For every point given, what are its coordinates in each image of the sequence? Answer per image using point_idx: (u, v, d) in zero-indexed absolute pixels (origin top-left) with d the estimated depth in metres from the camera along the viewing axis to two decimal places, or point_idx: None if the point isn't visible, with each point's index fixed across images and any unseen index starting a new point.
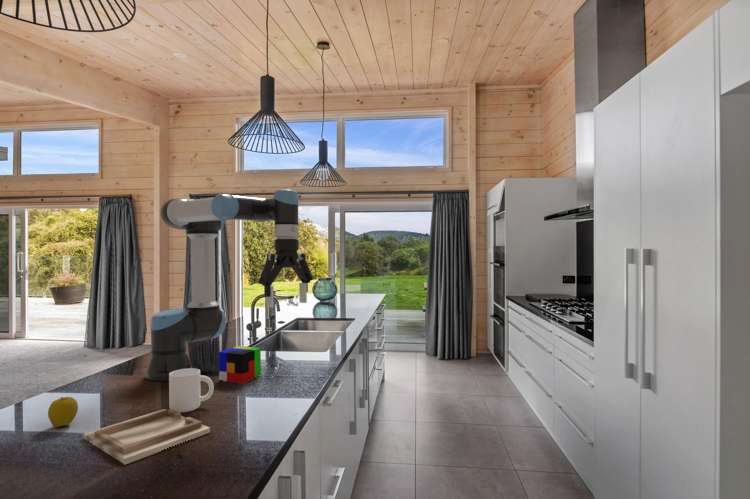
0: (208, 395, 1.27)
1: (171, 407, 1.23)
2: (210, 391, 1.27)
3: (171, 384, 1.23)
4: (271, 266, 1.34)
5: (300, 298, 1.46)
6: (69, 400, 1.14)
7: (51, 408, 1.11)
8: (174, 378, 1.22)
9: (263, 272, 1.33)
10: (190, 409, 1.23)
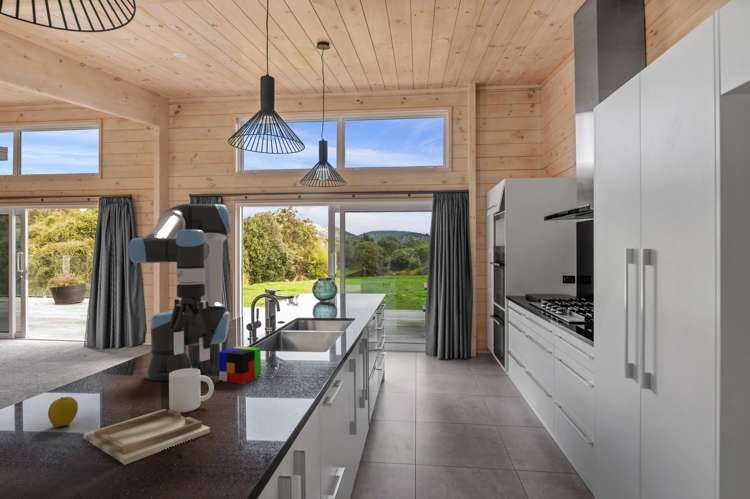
0: (208, 395, 1.27)
1: (171, 407, 1.23)
2: (210, 391, 1.27)
3: (171, 384, 1.23)
4: (174, 312, 1.30)
5: None
6: (69, 400, 1.14)
7: (51, 408, 1.11)
8: (174, 378, 1.22)
9: None
10: (190, 409, 1.23)
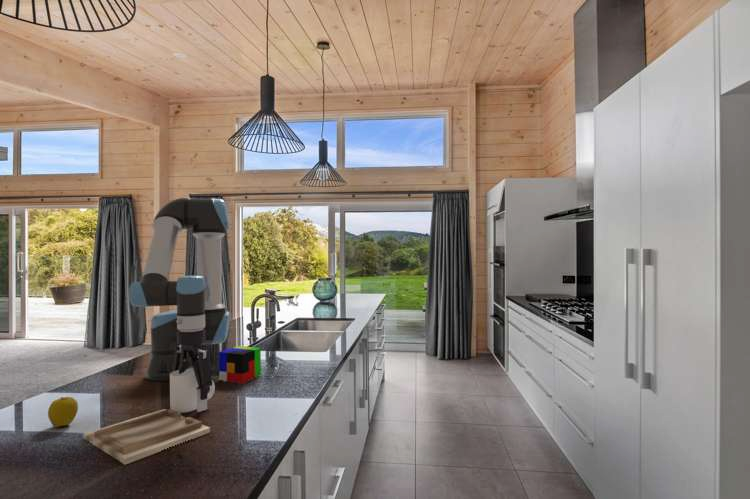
0: (209, 395, 1.27)
1: (172, 407, 1.23)
2: (211, 391, 1.27)
3: (172, 384, 1.23)
4: (175, 359, 1.29)
5: None
6: (69, 400, 1.14)
7: (51, 408, 1.11)
8: (175, 378, 1.22)
9: None
10: (191, 409, 1.23)
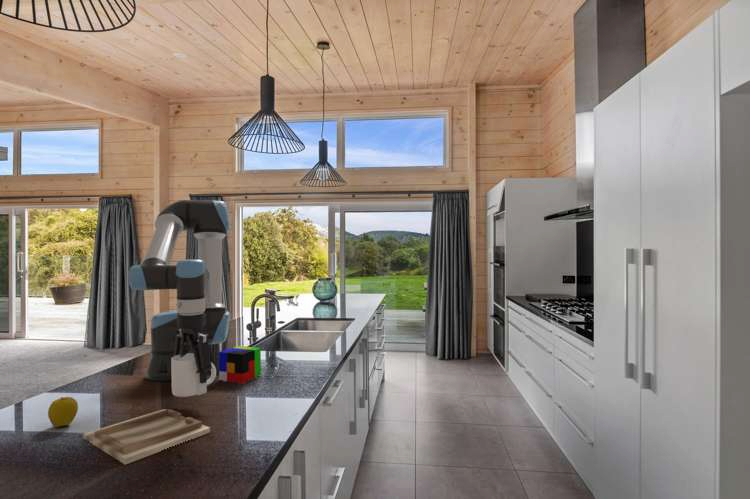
0: (210, 379, 1.27)
1: (174, 391, 1.23)
2: (212, 376, 1.27)
3: (173, 369, 1.23)
4: (176, 343, 1.30)
5: None
6: (69, 400, 1.14)
7: (51, 408, 1.11)
8: (176, 363, 1.22)
9: None
10: (193, 393, 1.24)
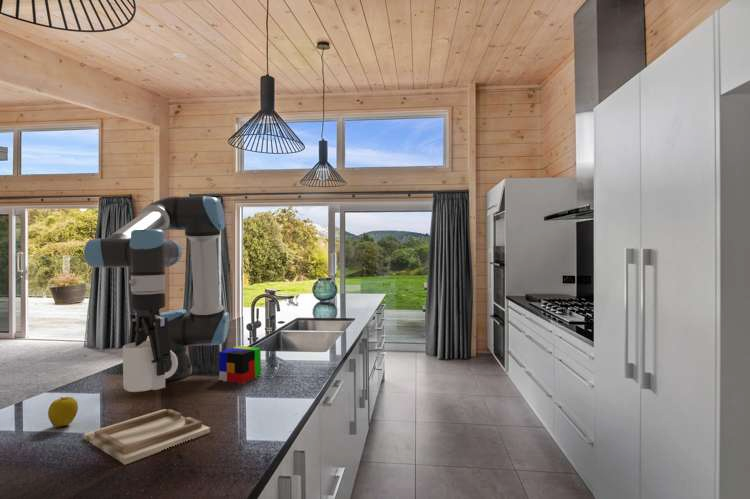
0: (171, 372, 1.07)
1: (125, 385, 1.03)
2: (173, 367, 1.07)
3: (125, 358, 1.03)
4: (131, 329, 1.10)
5: None
6: (69, 400, 1.14)
7: (51, 408, 1.11)
8: (128, 350, 1.02)
9: None
10: (148, 388, 1.03)
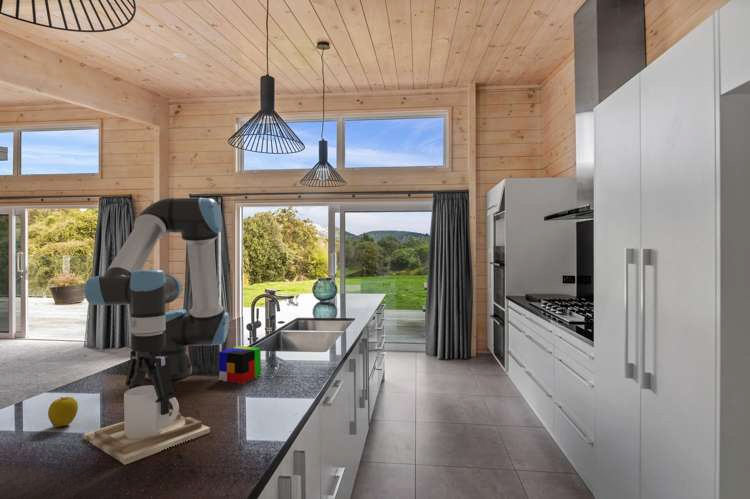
0: (172, 417, 1.07)
1: (126, 433, 1.03)
2: (174, 412, 1.07)
3: (126, 405, 1.03)
4: (130, 366, 1.10)
5: None
6: (69, 400, 1.14)
7: (51, 408, 1.11)
8: (130, 398, 1.02)
9: None
10: (150, 435, 1.03)
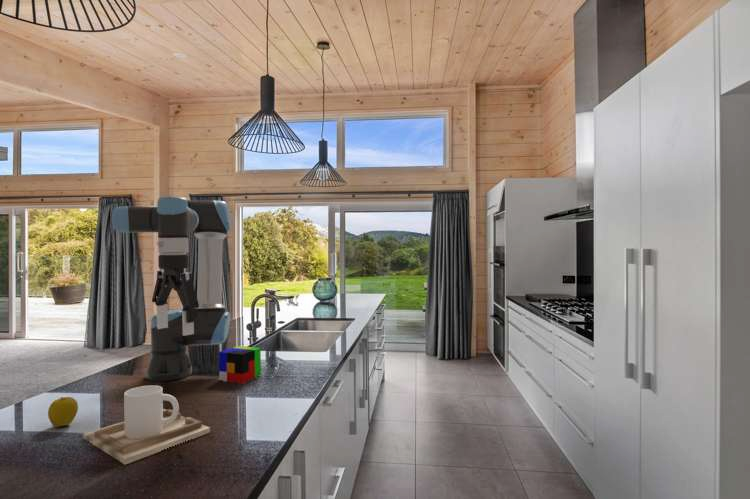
0: (172, 417, 1.07)
1: (126, 433, 1.03)
2: (174, 412, 1.07)
3: (126, 405, 1.03)
4: (156, 284, 1.23)
5: None
6: (69, 400, 1.14)
7: (51, 408, 1.11)
8: (130, 398, 1.02)
9: None
10: (150, 435, 1.03)
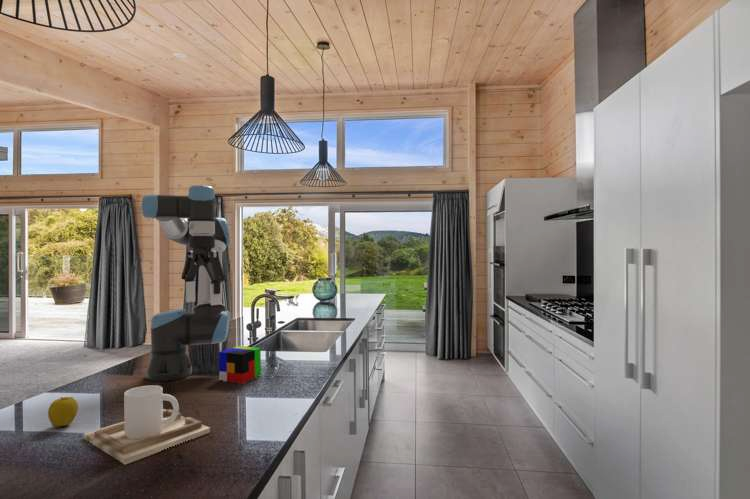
0: (172, 417, 1.07)
1: (126, 433, 1.03)
2: (174, 412, 1.07)
3: (126, 405, 1.03)
4: (186, 263, 1.40)
5: None
6: (69, 400, 1.14)
7: (51, 408, 1.11)
8: (130, 398, 1.02)
9: None
10: (150, 435, 1.03)
